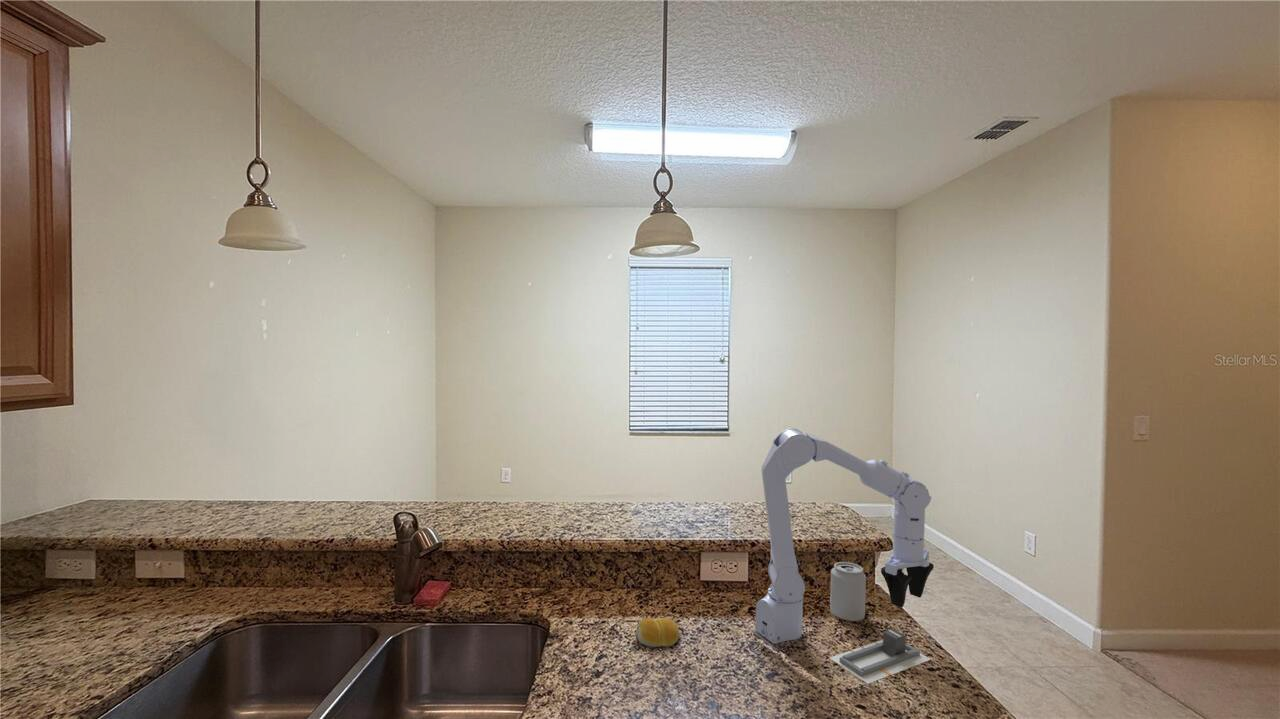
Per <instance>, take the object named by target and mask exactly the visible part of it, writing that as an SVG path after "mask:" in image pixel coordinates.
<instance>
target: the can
mask: <svg viewBox="0 0 1280 719" xmlns="http://www.w3.org/2000/svg"><path fill="white" fill-rule="evenodd" d="M833 566H834V567H832V569H831V570H830V595H829V596H830V598H829V599H830V600H829V612H830V613H831V615H833V616H834V617H836V618H838V619H840V620H841V619H842V620H845V621H850V622H859V621H863V620H864V619H865V617H866V590H867V589H866V587H867V584H866V583H867V575H866V574H865V572H864V568H863V567H862V566H860V565H859V564H857V563H853V562H848V561H839V562H835V563H834V564H833Z"/></svg>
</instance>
